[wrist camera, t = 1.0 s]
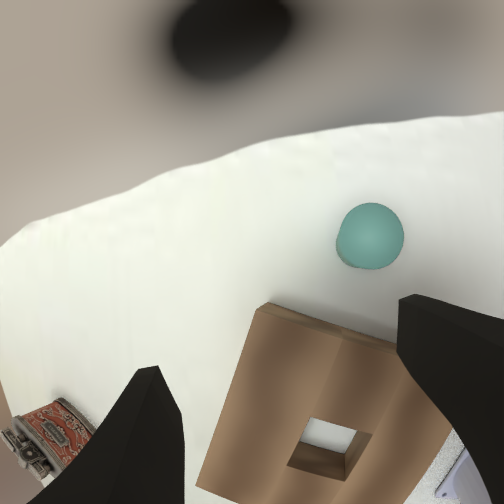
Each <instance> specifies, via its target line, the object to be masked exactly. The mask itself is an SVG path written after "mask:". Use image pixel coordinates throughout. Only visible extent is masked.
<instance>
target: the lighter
mask: <svg viewBox="0 0 504 504" xmlns="http://www.w3.org/2000/svg"><path fill="white" fill-rule="evenodd" d="M11 424H12V427H13V430H14V432H15V433H16V435H17V437H16V436H15V434H14V433H13V432H12V430H11V429H10V428H9V427H7V428H5V429H2V430H1V432H0V436H1V438H2V439H3V441H4V442H5V443H6V444H7V446H8V447H9V448H10V450H11V451H12V452H14V453H15V454H16V455H17V457H18V463H19V465H20V466H21V467H22V468H24V469H29V471H30V472H31V473H32V474H33V475H34V476H35V477H36V478H37V479H38V480H39V481H40V480H42V479H43V478H45V477H46V476H47V475H48V474H51V475H52V476H53V477H54V478H56V477H57V476H58V475H59V474H60V473H61V472H62V471H63V470H64V469H65V468H66V467H67V466H68V465H69V464H70V463H71V461H72V460H73V459H74V458H75V457H76V456H77V455H78V453H79V452H80V451H81V450H82V448H83V447H84V446H85V445H86V443H87V442H88V441H89V439H90V438H91V437H92V435H93V434H94V433H95V431H96V429H95V428H94V427H93V426H92V424H91V423H90V422H89V421H88V420H87V419H86V418H85V417H84V416H83V415H82V414H81V413H80V412H79V411H78V410H77V409H76V408H74V407H73V406H72V405H71V404H70V403H69V402H67V401H66V400H65V399H63V398H58V399H56V400H54V401H53V402H52V403H51V404H49V405H46V406H44V407H42V408H39V409H37V410H35V411H32V412H30V413H27V414H25V415H23V416H19V415H18V416H15V417H13V418H12V420H11Z"/></svg>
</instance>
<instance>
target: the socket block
mask: <svg viewBox="0 0 504 504" xmlns="http://www.w3.org/2000/svg"><path fill="white" fill-rule="evenodd" d="M396 348H397V344H394V343H391V342H388V341H384V340H381V339H378V338H375V337H372V336H368V335H365V334H362V333H359V332H356V331H353V330H349V329H346V328H343V327H340V326H337V325H334V324H331V323H328V322H325V321H322V320H319V319H316V318H313V317H310V316H307V315H304V314H301V313H298V312H295V311H292V310H289V309H286V308H283V307H280V306H278V305H275V304H272V303H269V302H267V303H266V304H264V305H262V306H261V307H259V308H258V309H256V311H255V314H254V317H253V320H252V323H251V326H250V329H249V332H248V335H247V338H246V341H245V344H244V347H243V350H242V353H241V356H240V359H239V362H238V365H237V368H236V371H235V374H234V377H233V380H232V383H231V385H230V388H229V391H228V394H227V397H226V400H225V403H224V406H223V409H222V412H221V414H220V417H219V420H218V423H217V426H216V429H215V432H214V434H213V437H212V440H211V443H210V446H209V449H208V451H207V454H206V457H205V460H204V463H203V465H202V468H201V471H200V474H199V477H198V479H197V482H196V485H195V486H197V487H199V488H202V489H204V490H206V491H208V492H211V493H213V494H216V495H218V496H221V497H223V498H226V499H228V500H231V501H233V502H236V503H239V504H403V503H404V502H405V500H406V499H407V498H408V496H409V495H410V494H411V492H412V491H413V490H414V488H415V487H416V485H417V484H418V483H419V481H420V480H421V478H422V477H423V475H424V474H425V472H426V471H427V469H428V468H429V466H430V465H431V463H432V462H433V460H434V459H435V457H436V455H437V454H438V452H439V451H440V449H441V447H442V446H443V444H444V442H445V440H446V439H447V437H448V435H449V434H450V432H451V430H452V428H453V427H452V425H451V424H450V423H449V421H448V420H447V419H446V418H445V416H444V415H443V414H442V413H441V412H440V410H439V409H438V408H437V407H436V406H435V404H434V403H433V402H432V401H431V400H430V398H429V397H428V396H427V395H426V394H425V392H424V391H423V390H422V389H421V388H420V386H419V385H418V384H417V383H416V382H415V380H414V379H413V378H412V377H411V375H410V374H409V372H408V371H407V369H406V367H405V366H404V364H403V363H402V361H401V359H400V358H399V356H398V354H397V353H396ZM310 417H313V418H316V419H320V420H323V421H326V422H330V423H333V424H337V425H340V426H344V427H347V428H351V429H355V430H358V431H357V433H356V434H355V436H354V438H353V440H352V442H351V444H350V445H349V447H348V449H347V451H346V453H345V454H341V453H337V452H333V451H330V450H326V449H323V448H319V447H316V446H312V445H309V444H306V443H303V442H299V439H300V437H301V435H302V433H303V431H304V429H305V427H306V425H307V423H308V420H309V418H310Z"/></svg>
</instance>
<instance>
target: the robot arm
mask: <svg viewBox="0 0 504 504" xmlns="http://www.w3.org/2000/svg"><path fill="white" fill-rule="evenodd" d="M396 353H397V354H398V356H399V358H400V359H401V361H402V363H403V364H404V366H405V367H406V369H407V371H408V372H409V374H410V375H411V377H412V378H413V379H414V380H415V382H416V383H417V384H418V385H419V386H420V388H421V389H422V390H423V391H424V392H425V394H426V395H427V396H428V397H429V398H430V400H431V401H432V402H433V403H434V404H435V406H436V407H437V408H438V409H439V410H440V412H441V413H442V414H443V415H444V416H445V418H446V419H447V420H448V421H449V423H450V424H451V425H452V427H453V428H454V429H455V431H456V432H457V434H458V436H459V437H460V439H461V441H462V442H463V444H464V446H465V449H464V451H463V452H462V454H461V456H460V457H459V459H458V460H457V462H456V463H455V465H454V466H453V468H452V469H451V471H450V472H449V474H448V475H447V477H446V478H445V480H444V481H443V483H442V484H441V485H440V487H439V488H438V489H437V491H436V492H435V497H436V498H445V499H459V501H460V504H504V319H500V318H496V317H492V316H488V315H485V314H481V313H478V312H475V311H471V310H468V309H465V308H462V307H459V306H456V305H452V304H449V303H446V302H443V301H440V300H436V299H433V298H430V297H426V296H422V295H418V294H413V295H410V296H408V297H405V298H402V299H399V311H398V333H397V348H396ZM184 472H185V441H184V432H183V423H182V415H181V412H180V410H179V408H178V406H177V404H176V402H175V400H174V398H173V396H172V394H171V392H170V390H169V388H168V386H167V384H166V382H165V379H164V377H163V375H162V373H161V371H160V369H159V366H158V365H157V366H152V367H147V368H141V369H138V370H137V371H136V373H135V374H134V376H133V377H132V379H131V380H130V382H129V383H128V385H127V386H126V388H125V389H124V391H123V392H122V394H121V395H120V397H119V398H118V400H117V401H116V403H115V404H114V406H113V407H112V409H111V410H110V412H109V413H108V415H107V416H106V418H105V419H104V421H103V422H102V423H101V425H100V426H99V427H98V429H97V430H96V431H95V433H94V434H93V435H92V437H91V438H90V439H89V441H88V442H87V443H86V445H85V446H84V447H83V448H82V450H81V451H80V452H79V453H78V455H77V456H76V457H75V458H74V459H73V460H72V461H71V463H70V464H69V465H68V466H67V467H66V468H65V469H64V470H63V471H62V472H61V473H60V474H59V475H58V476H57V477H56V478H55V479H54V480H53V481H52V482H51V483H50V484H49V485H48V486H47V487H45V488H44V489H43V490H42V491H41V492H40V493H39V494H38V495H37V496H36V497H34V498H33V499H32V500H31V501H30V502H28V503H27V504H185V502H184ZM444 493H445V494H444Z"/></svg>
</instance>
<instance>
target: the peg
mask: <svg viewBox="0 0 504 504" xmlns="http://www.w3.org/2000/svg"><path fill="white" fill-rule="evenodd" d="M403 241H404V233H403V228H402V224H401V222H400V220H399V219H398V217H397V216H396V214H395V213H394V212H393V211H392V210H390V209H389V208H387V207H386V206H383V205H381V204H377V203H365V204H362V205H359V206H357V207H355V208H354V209H352V210H351V211H350V212H349V213H348V214H347V215H346V217H345V218H344V220H343V222H342V225H341V228H340V231H339V234H338V237H337V241H336V249H337V253H338V255H339V257H340V258H341V260H342V261H343V262H344V263H346V264H347V265H349V266H352V267H358V268H365V269H380V268H383V267H385V266H387V265H389V264H390V263H392V262H393V261H394V260H395V259H396V258H397V256H398V255H399V253H400V251H401V249H402V246H403Z"/></svg>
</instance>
